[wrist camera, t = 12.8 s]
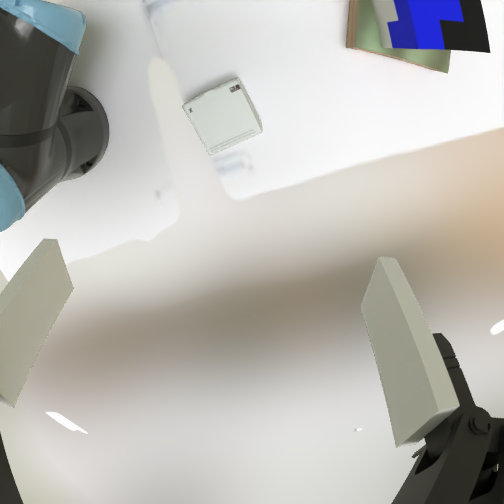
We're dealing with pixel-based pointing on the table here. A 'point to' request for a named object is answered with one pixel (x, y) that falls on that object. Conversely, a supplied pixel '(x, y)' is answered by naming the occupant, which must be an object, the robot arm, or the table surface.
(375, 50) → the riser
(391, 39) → the puzzle toy
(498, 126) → the table surface
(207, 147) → the small box
